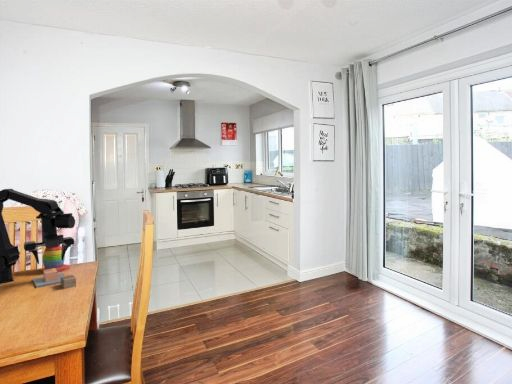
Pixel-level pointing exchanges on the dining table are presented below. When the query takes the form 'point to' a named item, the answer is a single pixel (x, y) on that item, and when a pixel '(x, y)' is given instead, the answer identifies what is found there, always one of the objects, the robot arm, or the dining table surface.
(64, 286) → the walnut brick
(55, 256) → the stacking bear
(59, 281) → the baseplate
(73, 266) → the dining table surface
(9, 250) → the robot arm
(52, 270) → the terracotta brick
